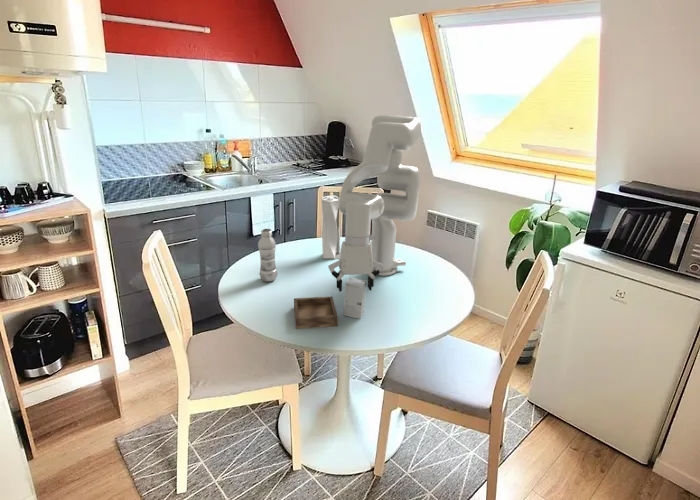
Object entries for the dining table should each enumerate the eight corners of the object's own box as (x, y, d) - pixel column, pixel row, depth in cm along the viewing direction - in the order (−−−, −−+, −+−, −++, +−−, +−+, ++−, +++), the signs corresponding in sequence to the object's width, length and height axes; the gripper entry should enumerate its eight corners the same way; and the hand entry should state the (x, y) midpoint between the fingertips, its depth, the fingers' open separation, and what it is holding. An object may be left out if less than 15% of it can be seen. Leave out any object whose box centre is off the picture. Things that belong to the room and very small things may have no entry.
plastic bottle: (280, 277, 168) (278, 228, 160) (271, 285, 162) (269, 234, 154) (265, 274, 170) (263, 226, 162) (256, 282, 164) (253, 232, 156)
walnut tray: (332, 305, 150) (332, 296, 149) (337, 326, 138) (337, 316, 137) (294, 307, 148) (293, 298, 147) (296, 328, 136) (295, 319, 135)
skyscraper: (339, 261, 185) (341, 196, 174) (320, 260, 185) (320, 196, 174) (340, 253, 192) (341, 191, 182) (321, 252, 192) (322, 190, 182)
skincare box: (343, 315, 144) (344, 282, 139) (347, 309, 148) (348, 277, 143) (361, 319, 142) (362, 286, 138) (364, 312, 146) (366, 280, 142)
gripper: (381, 234, 140) (378, 283, 146) (327, 235, 137) (326, 285, 143) (387, 243, 133) (383, 293, 139) (330, 244, 130) (329, 295, 136)
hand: (354, 289), depth 141 cm, fingers open, 9 cm apart
